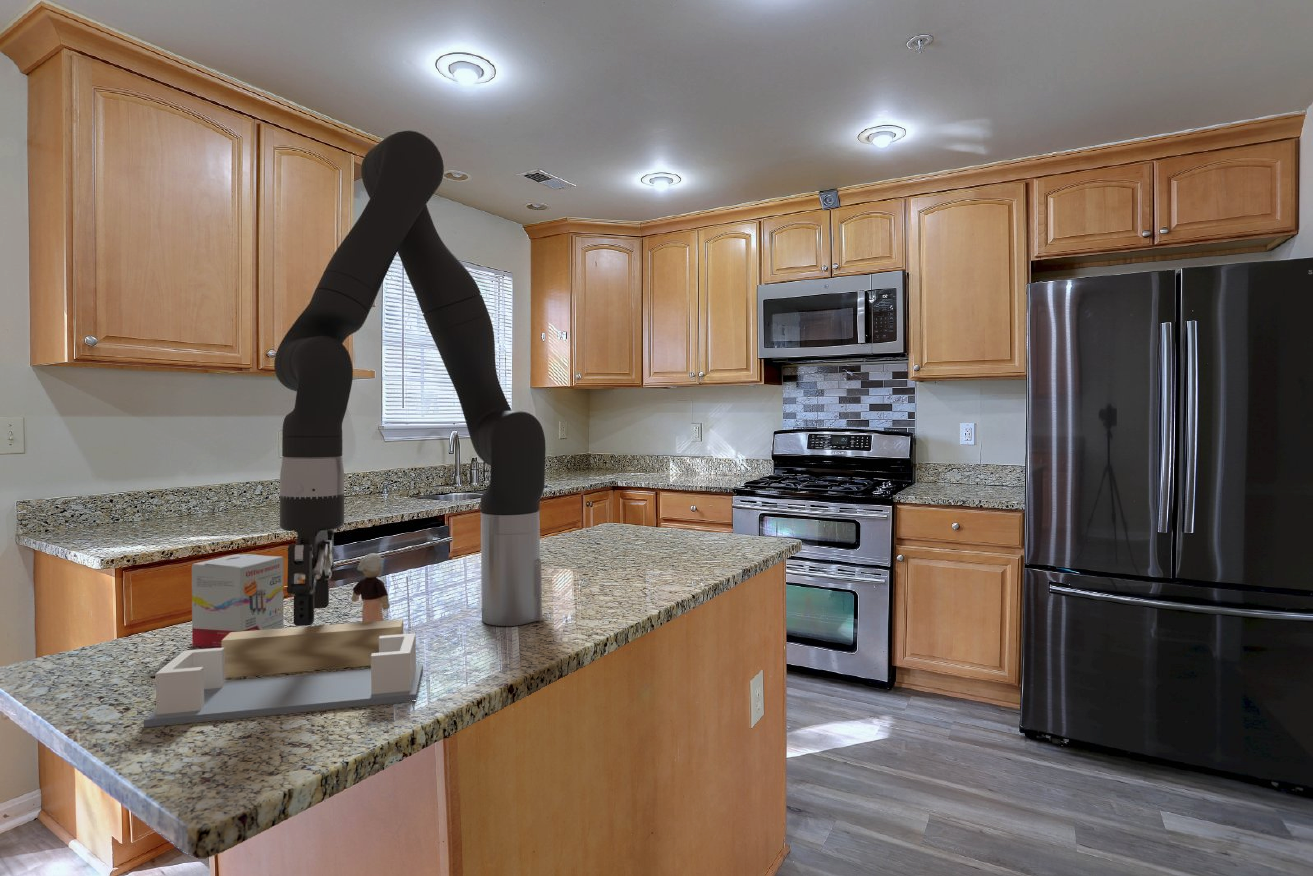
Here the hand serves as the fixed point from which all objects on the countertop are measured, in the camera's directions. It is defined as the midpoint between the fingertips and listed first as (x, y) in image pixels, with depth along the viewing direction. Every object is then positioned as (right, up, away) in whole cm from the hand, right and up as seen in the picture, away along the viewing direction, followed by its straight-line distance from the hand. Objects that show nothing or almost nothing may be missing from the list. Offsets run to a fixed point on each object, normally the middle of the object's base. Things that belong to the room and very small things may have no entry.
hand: (312, 615), depth 91 cm
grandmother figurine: (+4, -6, +10) cm, 13 cm away
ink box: (-16, -7, +12) cm, 21 cm away
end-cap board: (+3, -7, -10) cm, 12 cm away
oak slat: (+1, -7, 0) cm, 7 cm away
